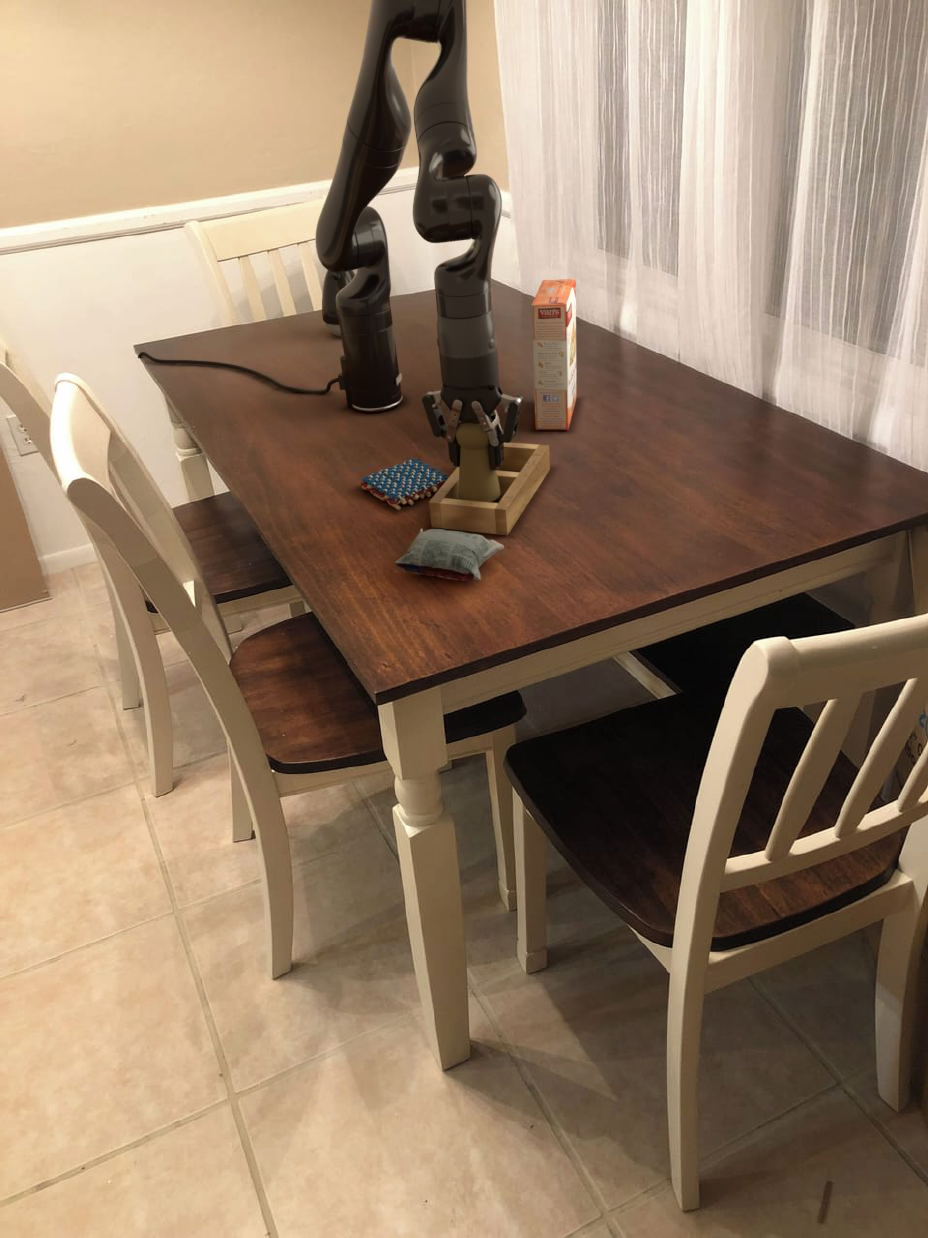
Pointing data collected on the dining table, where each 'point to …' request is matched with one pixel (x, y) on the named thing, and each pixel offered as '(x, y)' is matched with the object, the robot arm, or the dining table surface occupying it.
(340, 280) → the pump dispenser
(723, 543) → the dining table surface
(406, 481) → the woven mat
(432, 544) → the packaged food
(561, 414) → the cracker box
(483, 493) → the olive peg doll
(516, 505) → the spice rack
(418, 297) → the dining table surface
